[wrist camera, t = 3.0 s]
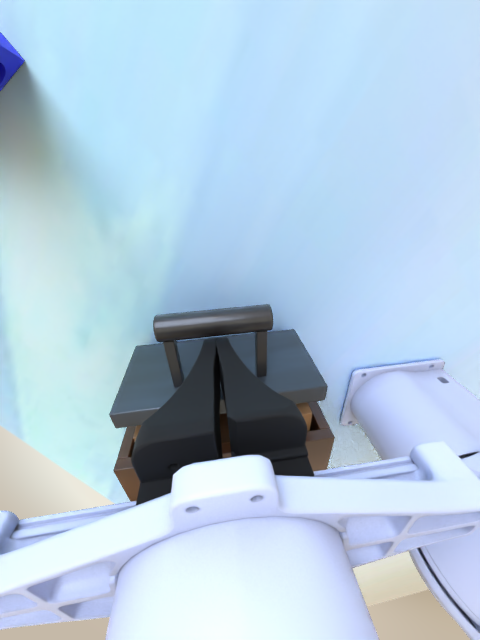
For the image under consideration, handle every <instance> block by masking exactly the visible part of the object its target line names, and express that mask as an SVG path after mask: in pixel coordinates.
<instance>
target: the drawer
mask: <svg viewBox="0 0 480 640" xmlns="http://www.w3.org/2000/svg"><path fill="white" fill-rule="evenodd" d="M153 327H154V334H155V338H156V340H157V341H158V342H163V343H162V344H152V345H143V346H136V348H135V350H134V353H133V355H132V358H131V360H130V363H129V365H128V368H127V371H126V373H125V376H124V378H123V381H122V383H121V386H120V388H119V391H118V393H117V396H116V399H115V401H114V404H113V406H112V409H111V411H110V414H109V415H110V417H111V420H112V422H113V424H114V426H115V428H122V427H129V426H136V429H135V433H134V436H133V439H134V442H135V440H136V437H137V435H138V432H139V430H140V428H141V425H142V423H143V422H144V421H145V420H147V419H148V418H149V417H150V416H151V415H153V414H154V413H155V412H156V411H157V410H159V409H160V408H161V407H162V406H163V405H164V404H165V403H166V402H167V401H168V400H169V399H170V398H171V396H172V395H173V394H174V393H175V392H176V391H177V389H178V388H179V387H180V386H181V384H182V383H183V381H184V380H185V379H186V377H187V376H188V374H189V372H190V371H191V369H192V367H193V365H194V364H195V362H196V360H197V357H198V355H199V353H200V351H201V348H202V345H203V341H204V340H205V339H199V340H189V341H180V342H176V340H183V339H192V338H202V337H211V336H220V335H230V334H239V333H248V332H255V333H254V334H245V335H236V336H226V337H227V338H228V339H229V342H230V344H231V346H232V347H233V349H234V351H235V352H236V354H237V355H238V356H239V358H240V359H241V361H242V362H243V363H244V364H245V365H246V367H247V368H248V369H249V370H250V371H251V372H252V373H253V374H254V375H255V376H256V377H257V378H258V379H260V380H261V381H262V382H263V383H264V384H266V385H267V386H268V387H270V388H271V389H272V390H274V391H275V392H277V393H279V394H280V395H282V396H284V397H286V398H288V399H290V400H292V401H293V402H294V403H295V404H296V406H297V407H298V409H299V410H300V412H301V414H302V416H303V417H304V419H305V422H306V424H307V432H308V431H310V425H311V418H312V411H311V409H310V407H309V405H308V402H313V401H321V400H325V397H326V392H327V384H326V383H325V381H324V379H323V377H322V376H321V374H320V372H319V371H318V369H317V367H316V366H315V364H314V362H313V360H312V359H311V357H310V355H309V354H308V352H307V350H306V349H305V347H304V345H303V344H302V342H301V340H300V338H299V337H298V335H297V333H296V332H295V330H294V329H291V330H282V331H273V332H267V330H271V329H272V327H273V315H272V310H271V307H270V305H268V304H266V305H256V306H245V307H235V308H225V309H215V310H204V311H194V312H184V313H174V314H164V315H156V316H155V317H154V322H153ZM217 338H223V337H217ZM208 339H214V338H208ZM220 430H221V442H222V444H226V443H230V438H229V428H228V419H227V412H226V407H225V402H224V397H223V392H222V387H221V382H220Z"/></svg>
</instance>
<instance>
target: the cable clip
mask: <svg viewBox="0 0 480 640" xmlns="http://www.w3.org/2000/svg"><path fill="white" fill-rule="evenodd" d="M24 61H25V60H24V59H23V58H22V57H21V56H20V54H19V53H18V52H17V51H16V50H15V49H14V47H13V46H12V45H11V44H10V43H9V42H8V40H7V39H6V38H5V37H4V36H3V35H2V33H1V32H0V91H1V90H2V88H3V87H4V86H5V85H6V84H7V82H8V81H9V80H10V79H11V77H12V76H13V75H14V74H15V72H16V71H17V70H18V69H19V68H20V66H21V65H22V64H23V63H24Z"/></svg>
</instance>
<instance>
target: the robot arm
mask: <svg viewBox="0 0 480 640" xmlns="http://www.w3.org/2000/svg"><path fill="white" fill-rule="evenodd" d="M444 365H445V362H444V361H443V360H441V359H438V360H430V361H422V362H414V363H406V364H398V365H390V366H382V367H374V368H366V369H358V370H355V371H354V372H353V373H352V376H351V380H350V384H349V388H348V392H347V396H346V400H345V404H344V408H343V411H342V415H341V419H340V423H341V425H343V426H347V425H354V424H360V426H361V427H362V429H363V430H364V432H365V434H366V435H367V437H368V438H369V440H370V442H371V443H372V445H373V446H374V448H375V450H376V451H377V453H378V454H379V456H380V458H381V459H382V460H381V461H375V462H369V463H363V464H357V465H351V466H345V467H339V468H332V469H326V470H320V471H314V472H313V470H312V467H311V464H310V462H309V459H308V451H307V448H306V446H305V443H306V436H307V424H306V422H305V419H304V417H303V416H302V414H301V412H300V410H299V409H298V407H297V406H296V404H295V403H294V402H293V401H292V400H290V399H288V398H286V397H284V396H282V395H280V394H279V393H277V392H275V391H274V390H272V389H271V388H270V387H268V386H267V385H266V384H264V383H263V382H262V381H261V380H260V379H258V378H257V377H256V376H255V375H254V374H253V373H252V372H251V371H250V370H249V369H248V368H247V367H246V365H245V364H244V363H243V362H242V361H241V359H240V358H239V356H238V355H237V354H236V352H235V351H234V349H233V347H232V346H231V344H230V342H229V339H228V338H227V337H223V338H214V339H205V340H204V341H203V345H202V348H201V351H200V353H199V355H198V357H197V360H196V362H195V364H194V365H193V367H192V369H191V371H190V372H189V374H188V376H187V377H186V379H185V380H184V381H183V383H182V384H181V386H180V387H179V388H178V389H177V391H176V392H175V393H174V394H173V395H172V396H171V398H170V399H169V400H168V401H167V402H166V403H165V404H164V405H163V406H162V407H161V408H160V409H159V410H157V411H156V412H155V413H154V414H153V415H151V416H150V417H149V418H148V419H147V420H145V421H144V422H143V423H142V425H141V428H140V430H139V432H138V435H137V437H136V440H135V444H134V448H133V453H132V457H131V463H132V466H133V468H134V470H135V472H136V474H137V476H138V478H139V481H140V486H139V491H138V496H137V501H131V502H125V503H119V504H113V505H108V506H101V507H95V508H89V509H83V510H77V511H71V512H65V513H59V514H52V515H46V516H40V517H34V518H28V519H22V520H19V519H18V517H17V516H16V515H15V514H14V513H12V512H10V511H0V630H2V629H9V628H15V627H23V626H31V625H40V624H49V623H59V622H67V621H77V620H86V619H96V618H105V617H110V619H109V624H108V629H107V634H106V639H105V640H379V638H378V635H377V632H376V630H375V627H374V625H373V622H372V619H371V617H370V614H369V611H368V609H367V606H366V603H365V601H364V598H363V596H362V593H361V590H360V588H359V585H358V582H357V580H356V577H355V574H354V572H353V569H352V568H355V567H358V566H361V565H364V564H367V563H371V562H374V561H377V560H380V559H383V558H387V557H390V556H393V555H396V554H399V553H403V552H406V551H409V553H410V556H411V558H412V561H413V563H414V565H415V567H416V569H417V570H418V572H419V574H420V576H421V578H422V579H423V581H424V582H425V584H426V586H427V587H428V589H429V590H430V591H431V593H432V594H433V596H434V597H435V598H436V600H437V601H438V602H439V603H440V605H441V606H442V607H443V608H444V609H445V611H446V612H447V613H448V614H449V615H450V616H451V617H452V618H453V619H454V620H455V621H456V622H457V623H458V624H459V626H460V627H461V628H462V629H463V631H464V632H465V633H466V634H467V636H468V637H469V638H470V640H480V399H478V398H477V397H476V396H475V395H473V394H472V393H471V392H470V391H468V390H467V389H466V388H465V387H464V386H462V385H461V384H460V383H459V382H457V381H456V380H455V379H454V378H452V377H451V376H450V375H449V374H448V373H446V372H445V371H444V370H443V367H444ZM220 382H221V387H222V392H223V397H224V402H225V407H226V412H227V419H228V428H229V438H230V447H231V458H224V459H223V455H222V442H221V430H220Z"/></svg>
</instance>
